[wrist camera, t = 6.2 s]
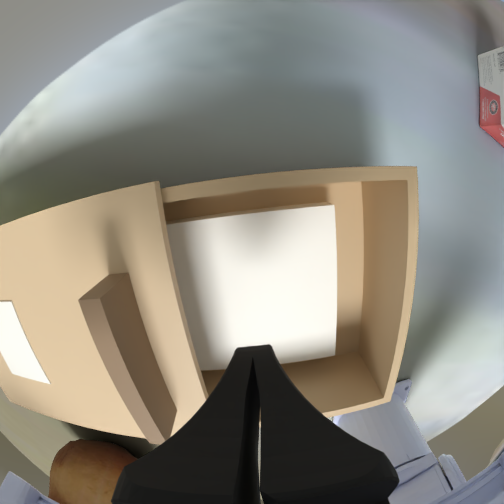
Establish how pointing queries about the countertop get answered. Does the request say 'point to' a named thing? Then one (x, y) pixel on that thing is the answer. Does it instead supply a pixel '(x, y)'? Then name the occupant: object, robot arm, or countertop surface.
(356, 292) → the mailer box
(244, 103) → the countertop surface
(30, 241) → the mailer lid
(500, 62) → the ink cartridge box
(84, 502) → the butternut squash
